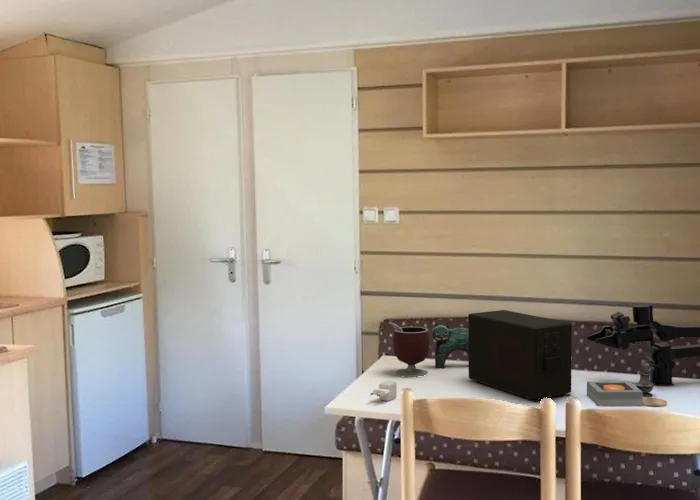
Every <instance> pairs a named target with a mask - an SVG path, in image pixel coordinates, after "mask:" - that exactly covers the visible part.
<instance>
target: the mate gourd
mask: <svg viewBox="0 0 700 500" xmlns="http://www.w3.org/2000/svg"><path fill="white" fill-rule="evenodd" d="M388 325H391V326H392V327H394V331H393V336H392V337H393V338H392V341H393V342H392V345H393V351H394V356H395V357H396V358H397V360H398V361H400V362H401V363H404V364H406V365H407V366H406V367H407V368H401V369H398V370H397V369H396V371H395V375H396V376H397V375H399V376H398V377H401V376H404V377H403V378H408V377H416V378H419V377H418V376H423V377H425V376H424V375H426V374H427V373H429V372H428V371H427V370H425V369H422V368H417V367H416V365H417V364H419V363H422V362H425V359H427V357H428V355H429V352H430V342H431V341H430V335H429V334H430V333H429V328H426V327H422V326H401V327H400V326H399V325H397V324H396V323H394V322H391V321H389V322H388ZM427 375H428V374H427ZM427 375H426V376H427Z"/></svg>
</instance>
